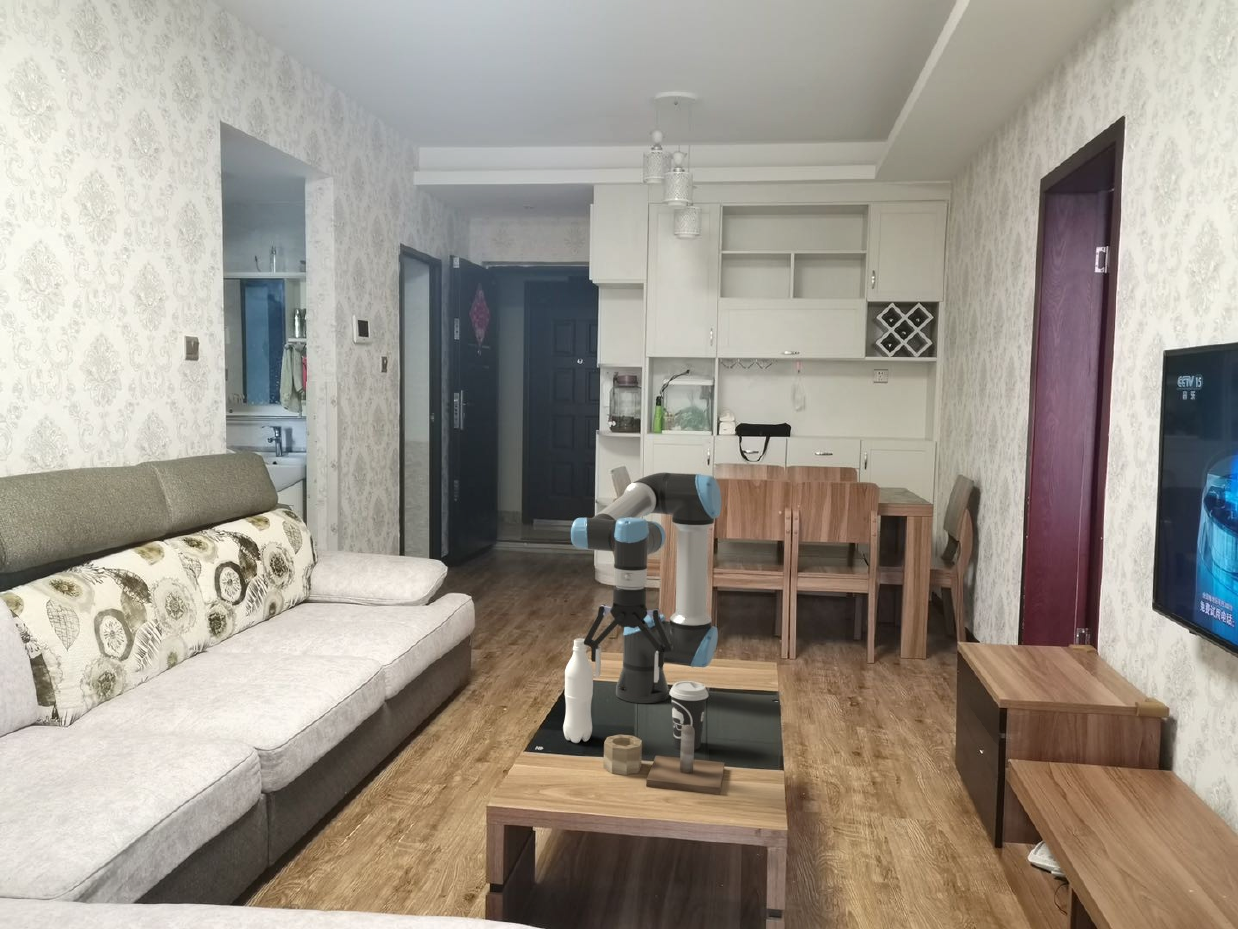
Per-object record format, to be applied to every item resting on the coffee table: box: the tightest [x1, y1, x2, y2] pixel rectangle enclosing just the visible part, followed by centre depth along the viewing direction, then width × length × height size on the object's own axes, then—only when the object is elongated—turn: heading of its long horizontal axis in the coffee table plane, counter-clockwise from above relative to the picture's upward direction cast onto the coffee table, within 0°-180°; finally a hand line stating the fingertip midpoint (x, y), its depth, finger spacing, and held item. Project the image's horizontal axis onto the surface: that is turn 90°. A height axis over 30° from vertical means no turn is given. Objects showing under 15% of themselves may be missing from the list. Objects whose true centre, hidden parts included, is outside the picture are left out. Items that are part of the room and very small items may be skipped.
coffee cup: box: [668, 680, 709, 751], centre depth 220 cm, size 10×10×15 cm
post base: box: [645, 725, 725, 795], centre depth 201 cm, size 14×16×12 cm
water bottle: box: [562, 638, 595, 744], centre depth 222 cm, size 7×7×25 cm
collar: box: [603, 734, 643, 776], centre depth 206 cm, size 8×8×6 cm
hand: (626, 678), depth 205 cm, fingers open, 13 cm apart
